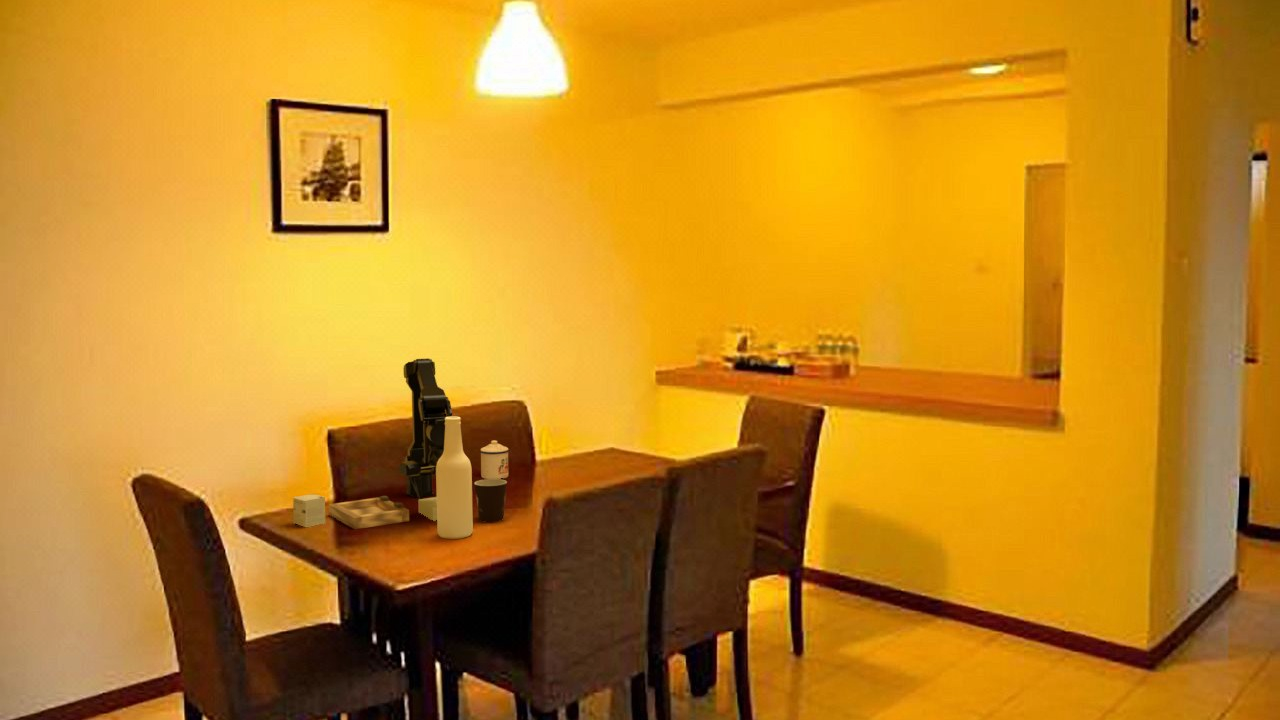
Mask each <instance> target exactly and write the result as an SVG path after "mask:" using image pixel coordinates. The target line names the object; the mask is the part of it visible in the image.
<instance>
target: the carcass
mask: <svg viewBox="0 0 1280 720" xmlns="http://www.w3.org/2000/svg"><path fill="white" fill-rule="evenodd" d="M328 515H329V516H330V517H331V516H332V518H333V517H334V518H333V519H335V518H336V519H335V520H337V521H339V522H340V521H341V522H340V523H343V524H344V525H346V526H348V527H349V528H352V529H353V530H359V529H366V528H372V527H379V526H386V525H392V524H399V523H405V522H410V509H408V508H406V507H404V503H403V502H393V501H391V500H390V499H389V496H387V495H382V496H379V497H371V498H366V499H365V498H364V499H359V500H351V501H344V502H343V501H342V502H336V503H330V504H328Z"/></svg>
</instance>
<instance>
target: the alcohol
mask: <svg viewBox="0 0 1280 720" xmlns="http://www.w3.org/2000/svg"><path fill="white" fill-rule="evenodd" d="M461 424H462V422H461V417H460V416H457V415H454V416H453V415H452V416H450V417H446V418H445V439H444V452H443V455H442V456H441V457H440V459H439V460H438V462H437V466H436V474H435V479H436V480H435V483H436V484H435V485H436V486H435V487H436V497H437V521H436V524H437V525H436V526H437V529H436V530H437V534H438V536H439V537H440V538H442V539H445V540H447V539H448V540H457V539H459V540H460V539H464V538H468V537H470V536H471V535H472V533H473V530H474V527H473V525H474V524H473V521H474V518H473V481H472V480H473V479H472V477H473V475H472V474H473V472H472V471H473V470H472V467H473V466H472V464H471V459H470V458H469V457H468V456H467V455H466V454H465V451H464V447H463V438H462V437H463V436H462V429H461ZM468 458H469V459H470V460H469V459H468Z"/></svg>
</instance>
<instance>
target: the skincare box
mask: <svg viewBox="0 0 1280 720" xmlns="http://www.w3.org/2000/svg"><path fill="white" fill-rule="evenodd" d="M292 500H293V504H292V505H293V507H292V509H293V514H292V515H293V524H294V523H296V524H298V525H301V526H304V527H309V528H311V527H310V526H314V525H318V526H320V525H319V524H323V525H325V524H326V497H324V496H322V495H318V494H315V493H311V494H306V495H305V494H304V495H299V496H294V497H293V498H292ZM324 523H325V524H324ZM298 525H297V526H298ZM301 526H300V527H301ZM304 527H303V528H304ZM314 527H315V526H314Z"/></svg>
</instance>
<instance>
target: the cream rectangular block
mask: <svg viewBox="0 0 1280 720" xmlns="http://www.w3.org/2000/svg"><path fill="white" fill-rule="evenodd" d="M417 502H418V514H420V513H421V514H420V515H422V514H423V515H424V517H425V516H426V517H425V518H427V517H428V518H427V519H429V520H431V521H432V520H433V522H437V521H436V520H437V496H435V497H427V498H421V499H419V498H418V500H417ZM423 515H422V516H423Z"/></svg>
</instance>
